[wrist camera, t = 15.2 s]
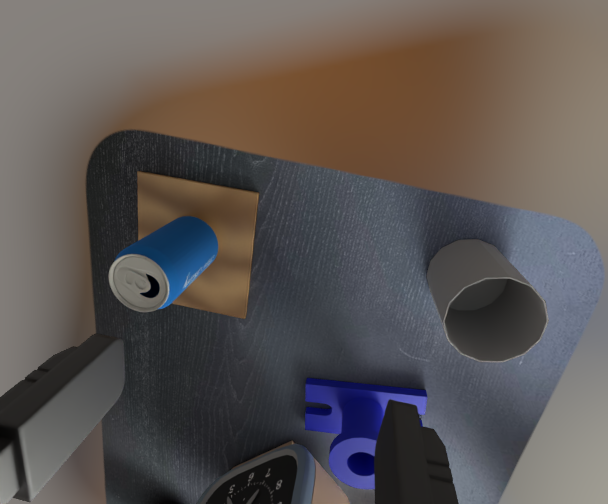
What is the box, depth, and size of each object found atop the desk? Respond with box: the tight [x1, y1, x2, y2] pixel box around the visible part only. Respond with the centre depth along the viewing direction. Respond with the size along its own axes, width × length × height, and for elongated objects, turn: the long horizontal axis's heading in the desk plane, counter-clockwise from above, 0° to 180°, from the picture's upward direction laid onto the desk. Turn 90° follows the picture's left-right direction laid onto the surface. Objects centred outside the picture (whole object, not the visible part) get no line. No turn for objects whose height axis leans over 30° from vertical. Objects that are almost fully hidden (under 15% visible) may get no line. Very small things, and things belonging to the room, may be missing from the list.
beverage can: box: [109, 216, 218, 312], centre depth 40 cm, size 6×6×12 cm
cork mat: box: [137, 171, 259, 319], centre depth 46 cm, size 16×14×1 cm
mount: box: [305, 378, 427, 489], centre depth 46 cm, size 15×8×9 cm, turn 89°
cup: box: [426, 239, 549, 362], centre depth 38 cm, size 8×8×10 cm
